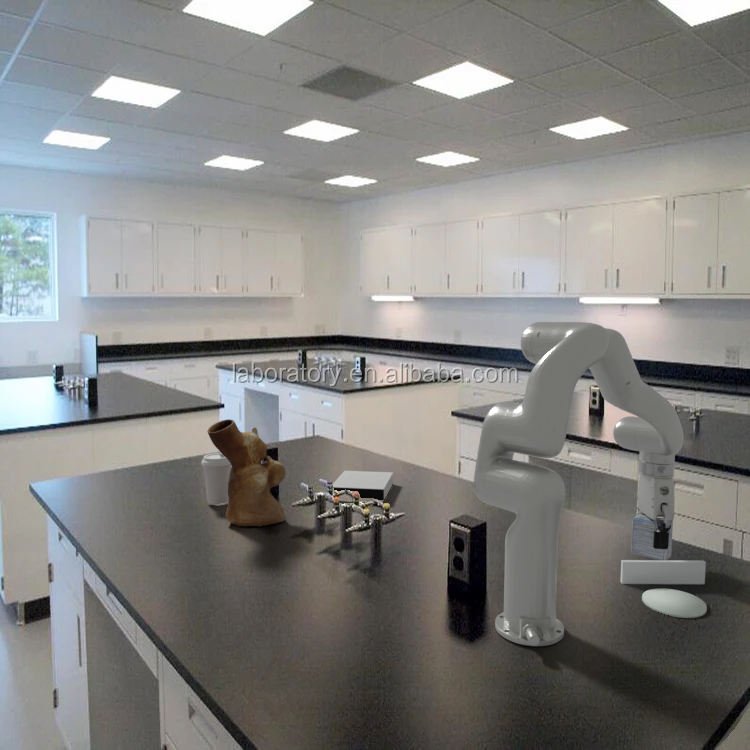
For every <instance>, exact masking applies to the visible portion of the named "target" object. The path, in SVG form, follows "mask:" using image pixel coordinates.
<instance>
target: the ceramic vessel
mask: <svg viewBox="0 0 750 750" xmlns="http://www.w3.org/2000/svg"><path fill="white" fill-rule="evenodd" d="M207 433H208V436H209V438H210V441H211V443H212V445H213V446H214V447H215V448H216V449H217V450H218V451H219V453H222V454H223V455H224V456H225V457H226V458H227V459H228V460H229V462H230V463H231V470H230V475H229V481H228V499H229V500H228V504H227V508H226V512H225V519H226V520H227V521H228V522H229V523H230V524H231V525H233V524H234V525H233V526H236V525H237V526H236V527H240V526H258V527H264V526H268V525H273V524H278V523H281V522H284V521H285V520H286V515H285V511H284V508H283V507H282V505H281V504H280V502H279V501H278V500H277V499H276V498H275V497H274V496H273V495H272V493H271V489H272V488H273V487H277V486H278V485H280V484H281V483H282V481H283V480H284V479H285V478H286V467H284V465H283V464H282V463H281V462H279V461H278V460H274V459H272V457H271V456H269V455H267V450H268V445H267V443H266V442H264V441H263V440H262V439H261V438H260V437H259V432H258V429H257V427H253V428H252V430H251V431H246V432H242V431H241V430H239V428H238V425H237V424H236V422H235V421H234V420H233V419H224V420H220V421H217V422H215V423H213V424H212V425H210V426H209V428H208V429H207ZM263 460H265V461H264V462H263ZM263 525H264V526H263Z"/></svg>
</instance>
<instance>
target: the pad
mask: <svg viewBox="0 0 750 750" xmlns="http://www.w3.org/2000/svg"><path fill="white" fill-rule="evenodd" d="M641 601H642V603H643V604H644V605H645V606H646V607H647V608H649V609H650V610H652V611H654V612H657V613H658V612H659V614H661V613H662V615H664V614H665V615H666V616H668V615H669V616H668V617H673V618H678V619H679V618H680V619H696V618H700V617H702V616H704V615H705V614H707V611H708V610H707V609H708V607H707V603H706V602H705V601H704V600H702V599H701V598H700V597H698V596H697V595H694V594H692V593H689V592H686V591H682V590H678V589H675V588H674V589H672V588H664V587H663V588H662V587H661V588H659V587H658V588H652V589H651V588H650V589H648V590H646V591H644V592H643V593H642V595H641Z"/></svg>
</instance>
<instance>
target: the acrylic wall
mask: <svg viewBox="0 0 750 750" xmlns="http://www.w3.org/2000/svg"><path fill="white" fill-rule="evenodd" d="M620 562H621V563H620V583H621V584H622V585H705V582H706V581H705V580H706V568H707V567H706V566H707V564H706V563H707V562H706V561H705V560H700V559H699V560H696V559H695V560H694V559H693V560H692V559H691V560H688V559H687V560H686V559H685V560H682V559H681V560H680V559H678V560H673V559H672V560H669V559H667V560H658V559H653V560H649V559H646V560H645V559H640V560H639V559H636V560H635V559H621V560H620Z"/></svg>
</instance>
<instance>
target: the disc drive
mask: <svg viewBox="0 0 750 750" xmlns="http://www.w3.org/2000/svg"><path fill="white" fill-rule="evenodd" d="M392 482H393V483H394V472H393V471H392V472H390V471H370V470H369V471H365V470H363V471H362V470H343V472H342V473H341V474H340V475H339V476H338V478H337V479H336V480H335V481H334V482H333V483H332V484H331V486H332V485H333V488H334V490H337V491H341V490H345V489H346V490H350V491H358V492H359V494H360V497H361V498H374V499H378V500H384V497H385V495H386V493H387V491H388V489H389V488H390V486H391V484H392Z"/></svg>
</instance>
